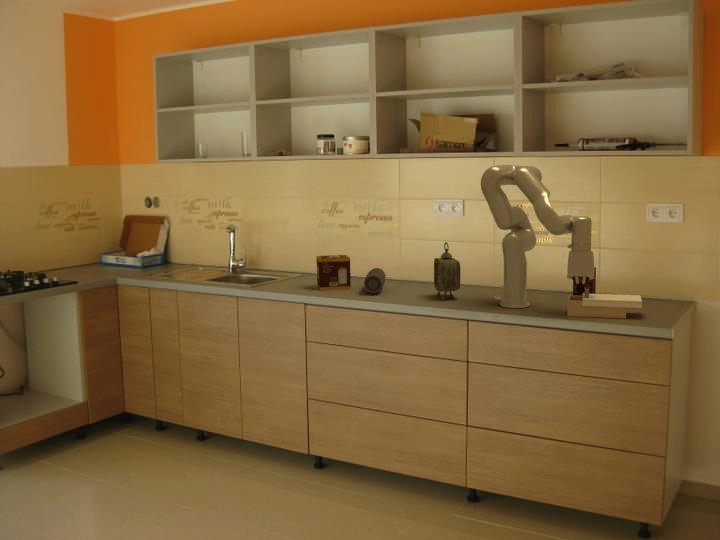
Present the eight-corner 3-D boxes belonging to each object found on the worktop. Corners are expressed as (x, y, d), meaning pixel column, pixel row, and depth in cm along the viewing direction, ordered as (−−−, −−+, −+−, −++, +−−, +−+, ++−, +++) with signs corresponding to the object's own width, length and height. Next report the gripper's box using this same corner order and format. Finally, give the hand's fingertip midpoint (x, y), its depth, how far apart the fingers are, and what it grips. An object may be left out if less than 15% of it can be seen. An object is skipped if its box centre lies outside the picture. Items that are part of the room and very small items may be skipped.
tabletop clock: (433, 295, 363) (433, 240, 359) (453, 294, 364) (453, 240, 360) (440, 301, 349) (440, 244, 345) (460, 300, 350) (461, 244, 346)
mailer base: (567, 316, 314) (567, 300, 314) (568, 310, 325) (568, 295, 324) (625, 318, 308) (626, 302, 307) (624, 312, 319) (625, 297, 318)
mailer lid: (582, 305, 312) (582, 293, 311) (582, 299, 324) (583, 287, 323) (641, 307, 305) (642, 295, 305) (639, 301, 317) (640, 289, 317)
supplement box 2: (595, 304, 337) (596, 267, 334) (592, 306, 333) (593, 268, 330) (575, 302, 341) (576, 265, 339) (571, 304, 338) (572, 267, 335)
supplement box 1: (316, 287, 390) (316, 255, 387) (347, 285, 392) (347, 254, 390) (319, 290, 379) (318, 258, 377) (351, 289, 382) (350, 257, 379)
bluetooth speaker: (383, 295, 364) (383, 274, 363) (363, 295, 365) (362, 274, 364) (386, 287, 386) (386, 266, 385) (367, 287, 387) (367, 266, 386)
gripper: (561, 248, 313) (560, 294, 316) (601, 249, 309) (600, 295, 311) (562, 246, 320) (561, 291, 323) (600, 246, 316) (599, 292, 319)
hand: (580, 293), depth 317 cm, fingers closed
